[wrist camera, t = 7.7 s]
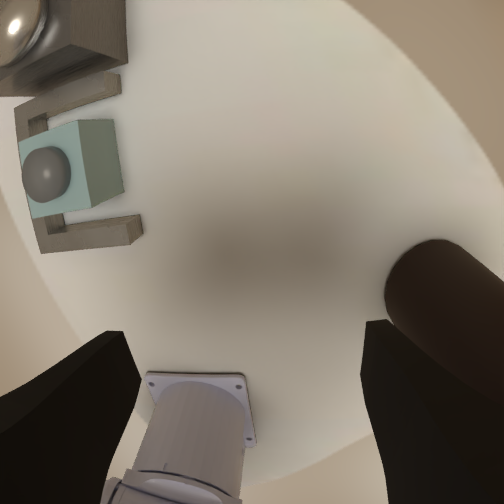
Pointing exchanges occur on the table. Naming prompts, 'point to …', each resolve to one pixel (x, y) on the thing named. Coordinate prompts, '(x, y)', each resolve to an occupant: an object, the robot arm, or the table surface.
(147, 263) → the table surface
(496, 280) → the bottle
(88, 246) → the motor mount
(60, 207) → the pale blue block
